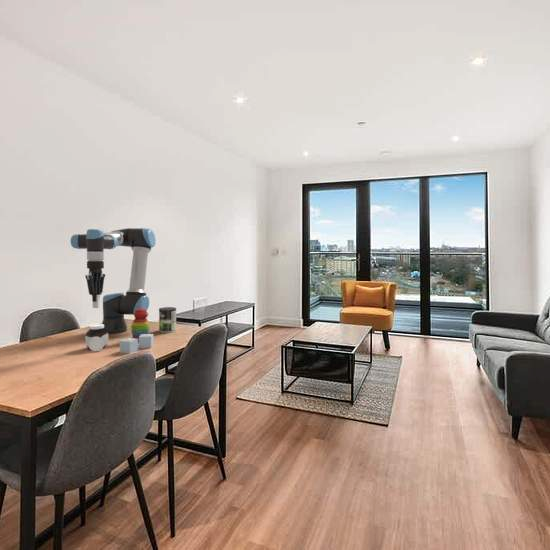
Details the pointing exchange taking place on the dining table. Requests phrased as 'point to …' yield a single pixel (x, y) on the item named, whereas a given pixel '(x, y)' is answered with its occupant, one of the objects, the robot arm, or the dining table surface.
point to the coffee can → (167, 319)
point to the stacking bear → (140, 323)
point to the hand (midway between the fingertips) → (96, 307)
